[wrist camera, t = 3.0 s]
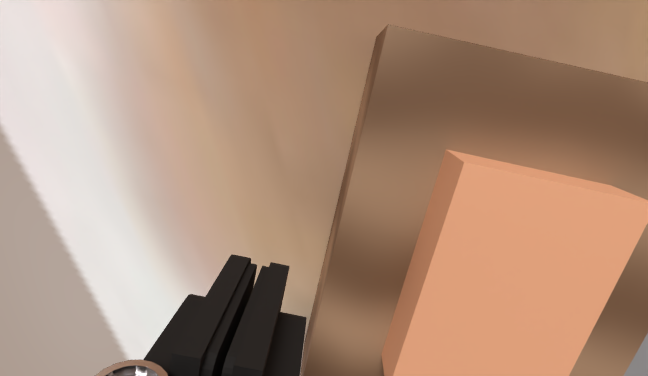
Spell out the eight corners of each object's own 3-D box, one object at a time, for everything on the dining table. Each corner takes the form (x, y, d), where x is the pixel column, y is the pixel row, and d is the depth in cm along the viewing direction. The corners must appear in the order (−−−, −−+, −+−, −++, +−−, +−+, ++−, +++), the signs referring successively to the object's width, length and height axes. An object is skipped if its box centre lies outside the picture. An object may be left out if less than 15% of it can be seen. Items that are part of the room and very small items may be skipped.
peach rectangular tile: (445, 149, 13) (464, 162, 11) (610, 185, 13) (657, 203, 11) (381, 354, 16) (386, 393, 14) (518, 382, 16) (543, 425, 14)
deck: (376, 36, 16) (388, 24, 12) (670, 102, 16) (774, 110, 12) (304, 341, 20) (296, 403, 16) (531, 388, 21) (575, 459, 17)
